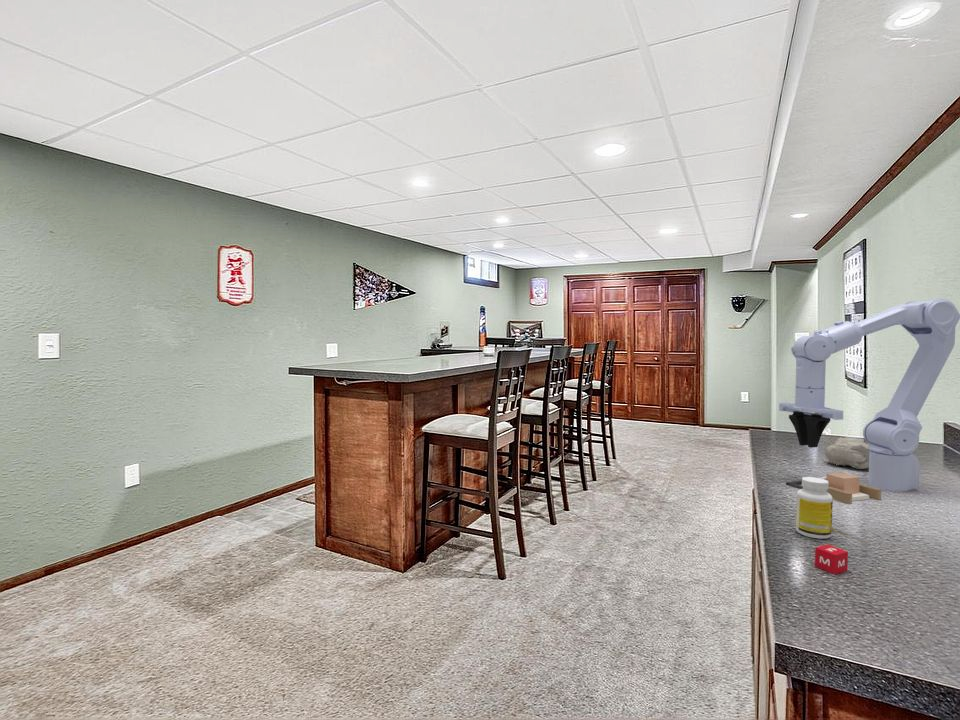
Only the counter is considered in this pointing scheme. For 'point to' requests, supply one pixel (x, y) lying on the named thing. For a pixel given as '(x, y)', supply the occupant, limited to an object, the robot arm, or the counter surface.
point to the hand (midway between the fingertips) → (808, 446)
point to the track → (847, 497)
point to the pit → (795, 484)
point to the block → (844, 482)
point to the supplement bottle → (814, 509)
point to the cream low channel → (855, 496)
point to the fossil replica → (849, 453)
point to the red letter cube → (831, 559)
